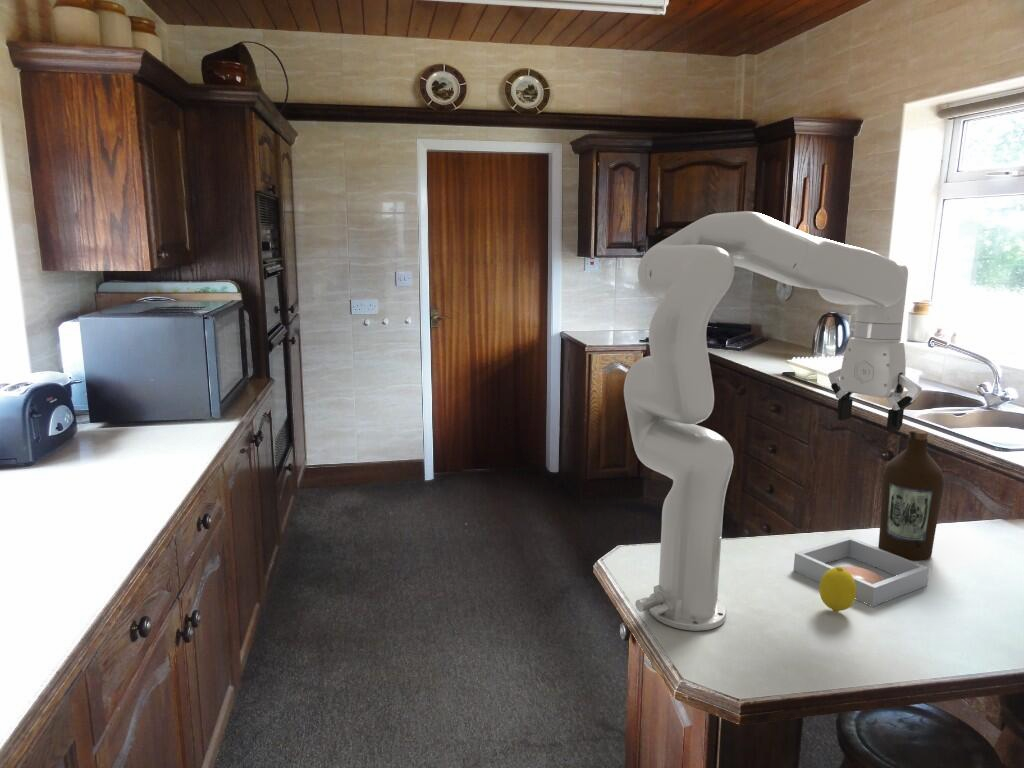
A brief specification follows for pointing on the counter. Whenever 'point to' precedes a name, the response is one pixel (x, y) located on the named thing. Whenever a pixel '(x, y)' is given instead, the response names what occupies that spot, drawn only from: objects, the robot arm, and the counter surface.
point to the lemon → (837, 589)
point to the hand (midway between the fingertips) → (867, 424)
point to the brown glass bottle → (911, 501)
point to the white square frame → (866, 581)
